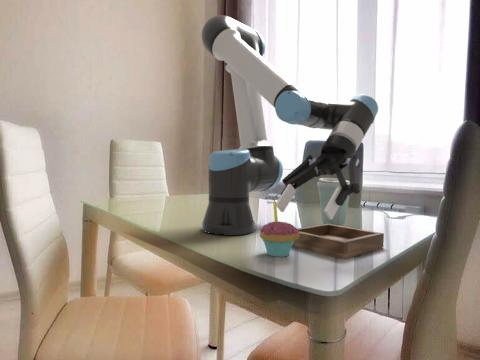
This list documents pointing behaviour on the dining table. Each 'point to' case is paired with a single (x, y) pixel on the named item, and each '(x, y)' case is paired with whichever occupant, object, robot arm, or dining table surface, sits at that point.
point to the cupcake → (278, 236)
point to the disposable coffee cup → (325, 193)
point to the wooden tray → (338, 240)
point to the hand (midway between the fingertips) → (301, 211)
